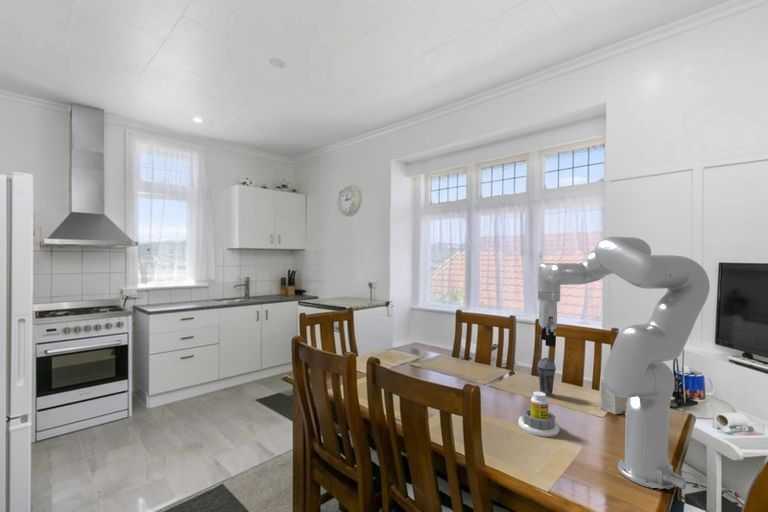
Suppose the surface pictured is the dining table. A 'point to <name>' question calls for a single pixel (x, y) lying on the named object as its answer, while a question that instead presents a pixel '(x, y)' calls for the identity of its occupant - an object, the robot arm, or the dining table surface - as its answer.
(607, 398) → the skincare box
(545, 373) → the beverage cup
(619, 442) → the dining table surface
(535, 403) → the supplement bottle
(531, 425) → the holder
